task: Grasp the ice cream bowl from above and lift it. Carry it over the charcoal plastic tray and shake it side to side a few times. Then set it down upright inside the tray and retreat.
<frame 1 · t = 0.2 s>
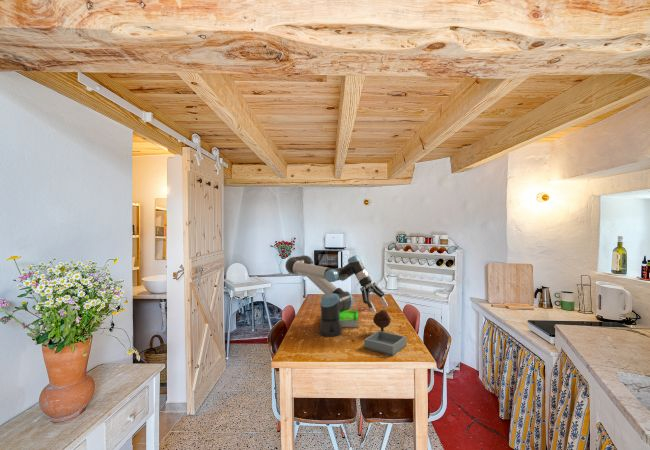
hand: (380, 309, 190), 16 cm above the table, tool tilted 35°, fingers open, 13 cm apart
charcoal tray: (385, 347, 172), on the table
ice cream bowl: (382, 334, 192), on the table
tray: (340, 322, 219), on the table
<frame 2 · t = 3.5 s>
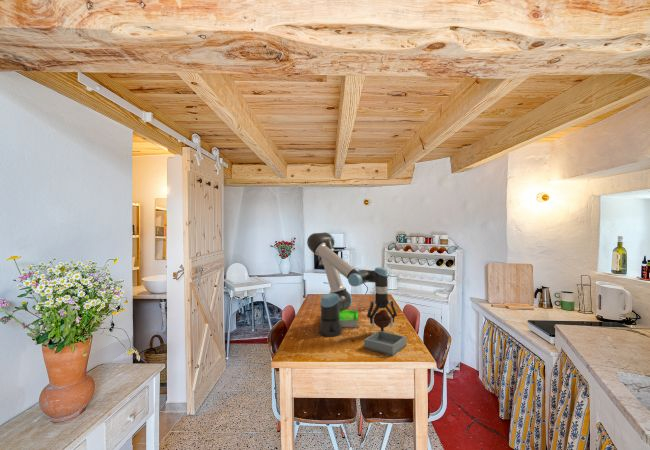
hand: (382, 328, 192), 4 cm above the table, tool pointing down, fingers closed on ice cream bowl, 11 cm apart
ice cream bowl: (382, 334, 192), on the table, touching gripper
everything else where it was.
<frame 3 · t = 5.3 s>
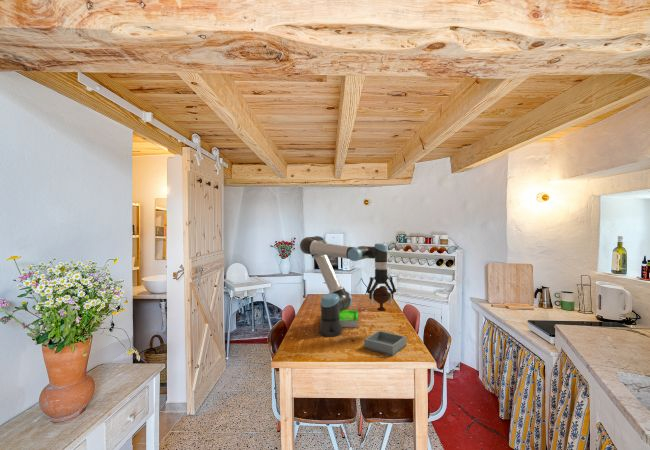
hand: (381, 304, 192), 19 cm above the table, tool pointing down, fingers closed on ice cream bowl, 11 cm apart
ice cream bowl: (381, 310, 192), point 15 cm above the table, touching gripper
everything else where it was.
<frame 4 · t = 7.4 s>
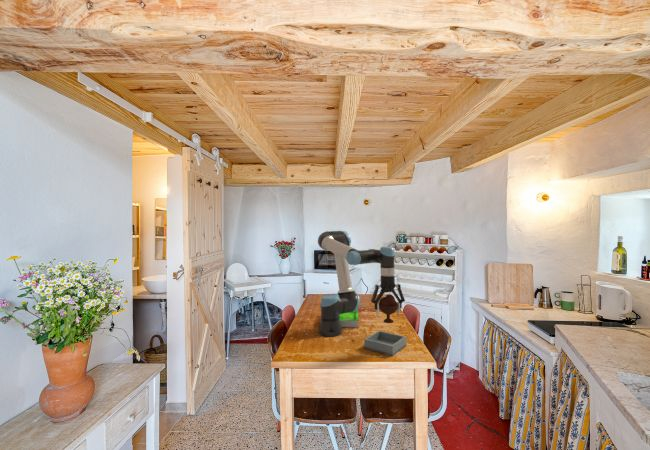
hand: (388, 315, 171), 18 cm above the table, tool pointing down, fingers closed on ice cream bowl, 11 cm apart
ice cream bowl: (388, 322, 171), point 14 cm above the table, touching gripper
everything else where it was.
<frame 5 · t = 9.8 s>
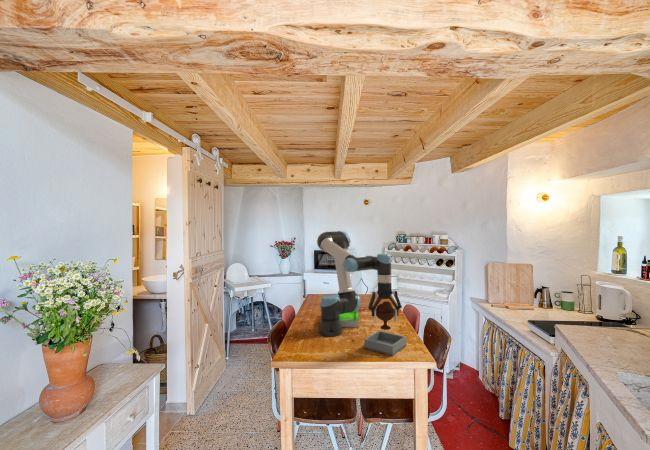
hand: (385, 321, 172), 14 cm above the table, tool pointing down, fingers closed on ice cream bowl, 11 cm apart
ice cream bowl: (385, 328, 172), point 10 cm above the table, touching gripper
everything else where it was.
when the fingers open (5 cm above the table, at t = 11.8 s): ice cream bowl stays where it is, resting on charcoal tray.
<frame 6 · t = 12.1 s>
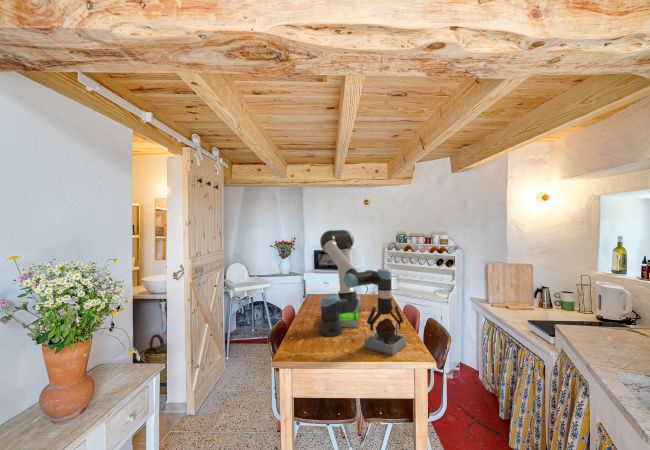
hand: (385, 335, 172), 6 cm above the table, tool pointing down, fingers open, 13 cm apart
ice cream bowl: (385, 345, 172), point 1 cm above the table, touching charcoal tray
everything else where it was.
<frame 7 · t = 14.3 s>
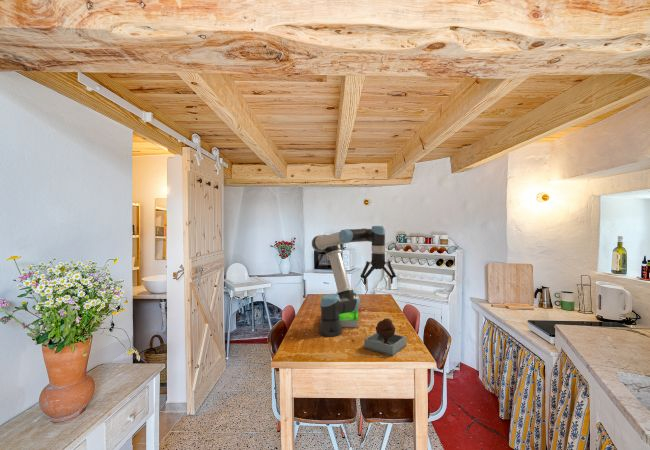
hand: (378, 289, 179), 30 cm above the table, tool pointing down, fingers open, 13 cm apart
nothing on the table moved.
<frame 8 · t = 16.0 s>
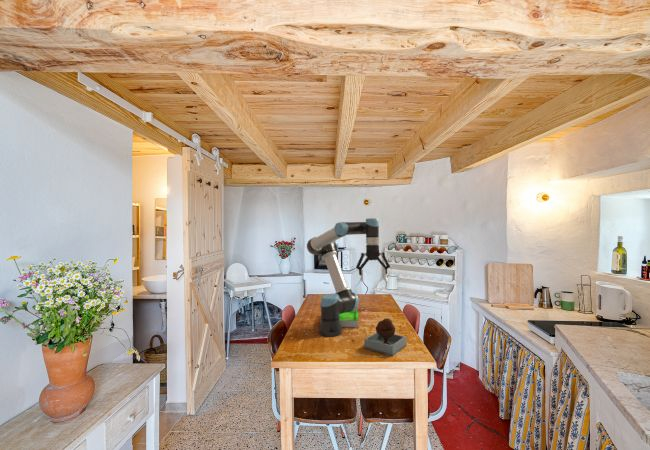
hand: (373, 280, 184), 35 cm above the table, tool pointing down, fingers open, 13 cm apart
nothing on the table moved.
at the end: ice cream bowl inside the target area on the charcoal tray (0.2 cm from its centre), point 0.8 cm above the charcoal tray's base; ice cream bowl tilted 0°; the gripper is holding nothing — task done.
